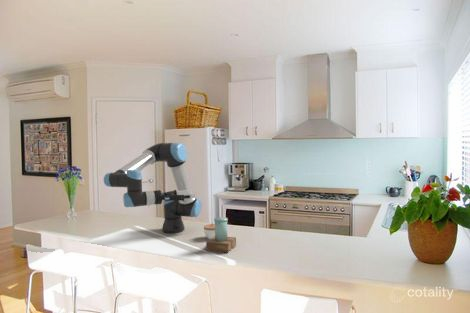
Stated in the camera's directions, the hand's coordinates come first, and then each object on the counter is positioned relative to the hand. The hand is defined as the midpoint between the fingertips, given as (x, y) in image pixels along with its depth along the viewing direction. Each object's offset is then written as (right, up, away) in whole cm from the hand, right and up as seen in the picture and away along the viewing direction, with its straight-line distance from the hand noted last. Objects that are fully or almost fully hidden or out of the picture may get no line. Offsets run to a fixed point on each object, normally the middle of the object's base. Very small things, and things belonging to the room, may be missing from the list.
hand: (191, 194), depth 195 cm
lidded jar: (+10, -31, +24) cm, 40 cm away
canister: (+17, -26, +3) cm, 31 cm away
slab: (+17, -31, +3) cm, 36 cm away
